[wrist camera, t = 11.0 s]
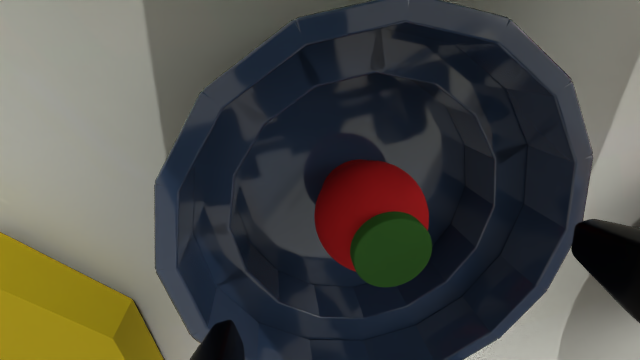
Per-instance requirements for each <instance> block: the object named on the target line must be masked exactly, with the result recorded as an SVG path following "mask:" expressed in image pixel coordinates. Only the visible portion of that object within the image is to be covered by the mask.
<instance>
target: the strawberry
mask: <svg viewBox="0 0 640 360" xmlns="http://www.w3.org/2000/svg"><path fill="white" fill-rule="evenodd" d="M314 218H315V227H316V231H317V234H318V237H319V240H320V242H321V244H322V246H323V247H324V248H325V250H326V251H327V253H328V254H329V255H330V256H331V257H332V258H333V259H334V260H335V261H336V262H338V263H339V264H341V265H342V266H344V267H346V268H348V269H350V270H352V271H355V272H357V274H358V275H359V277H360V278H361V279H362V280H364V281H365V282H367V283H369V284H371V285H373V286H377V287H394V286H398V285H401V284H404V283H406V282H408V281H410V280H412V279H413V278H415V277H416V276H417V275H418V274H419V273H420V272H421V271H422V270H423V269H424V268H425V266H426V265H427V263H428V261H429V259H430V257H431V253H432V240H431V237H430V234H429V232H428V226H429V211H428V206H427V202H426V199H425V196H424V194H423V192H422V190H421V188H420V187H419V185H418V184H417V183H416V181H415V180H414V179H413V178H412V177H411V176H410V175H409V174H407V173H406V172H405V171H403V170H402V169H400V168H398V167H397V166H395V165H392V164H389V163H386V162H382V161H373V160H361V159H360V160H351V161H348V162H345V163H343V164H341V165H339V166H338V167H336V168H335V169H334V170H333V171H332V172H331V173H330V174H329V175H328V176H327V178H326V180H325V181H324V184H323V186H322V189H321V191H320V193H319V195H318V198H317V201H316V205H315V213H314Z"/></svg>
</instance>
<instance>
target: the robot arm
mask: <svg viewBox="0 0 640 360" xmlns="http://www.w3.org/2000/svg"><path fill="white" fill-rule="evenodd" d="M572 253H573V255H574V257H575V258H576V259H577V260H578V261H579V262H580V263H581V264H582V265H583V266H584V268H585V269H586V270H587V271H588V272H589V273H590V274H591V275H592V276H593V277H594V278H595V279H596V280H597V281H598V282H599V283H600V284H601V285H602V287H603V288H604V289H605V290H606V291H607V292H608V293H609V294H610V295H611V296H612V297H613V298H614V299H615V300H616V301H617V302H618V303H619V304H620V305H621V306H622V307H623V308H624V309H625V310H626V311H627V312H628V313H629V314H630V315H631V316H632V317H633V318H634V319H636V320H637V321H638V322H639V323H640V228H636V227H631V226H626V225H622V224H617V223H612V222H607V221H603V220H598V219H590V220H586V221H583V222H579V223H577V224H576V226H575V228H574V234H573V241H572ZM190 360H245V352H244V345H243V342H242V339H241V337H240V335H239V333H238V330H237V328H236V326H235V324H234V322H233V321H232V320H225V321H222V322H218V323H216V324H214V325H213V326H212V328H211V329H210V331H209V332H208V334H207V335H206V337H205V338H204V339H203V341H202V342H201V344H200V345H199V347H198V348H197V350H196V351H195V353H194V354H193V355H192V357H191V358H190Z"/></svg>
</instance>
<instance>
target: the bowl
mask: <svg viewBox="0 0 640 360" xmlns="http://www.w3.org/2000/svg"><path fill="white" fill-rule="evenodd" d="M592 154H593V151H592V148H591V144H590V141H589V137H588V134H587V130H586V127H585V123H584V120H583V116H582V113H581V109H580V106H579V102H578V99H577V95H576V91H575V88H574V84H573V82H572V81H571V78H570V77H569V76H568V75H567V74H566V73H565V72H564V71H563V70H562V69H561V68H560V67H559V66H558V65H557V64H556V63H555V62H554V61H553V60H552V59H551V58H550V57H549V56H548V55H547V54H546V53H545V52H544V51H543V50H542V49H541V48H540V47H539V46H538V45H537V44H536V43H535V42H533V41H532V40H531V39H530V38H529V37H528V36H527V35H526V34H525V33H524V32H523V31H522V30H521V29H520V28H519V27H518V26H517V25H516V24H515V23H514V22H513V21H512V20H511V19H509V18H508V17H504V16H500V15H497V14H493V13H489V12H485V11H481V10H477V9H473V8H469V7H465V6H462V5H458V4H454V3H450V2H446V1H442V0H372V1H367V2H363V3H359V4H354V5H350V6H345V7H341V8H337V9H332V10H328V11H323V12H319V13H314V14H310V15H306V16H301V17H297V18H296V19H295V20H291V21H290V22H289V23H287V24H286V25H285V26H283V27H282V28H281V29H280V30H278V31H277V32H276V33H274V34H273V35H272V36H271V37H269V38H268V39H267V40H265V41H264V42H263V43H262V44H260V45H259V46H258V47H256V48H255V49H254V50H253V51H251V52H250V53H249V54H247V55H246V56H245V57H243V58H242V59H241V60H240V61H238V62H237V63H236V64H234V65H233V66H232V67H231V68H229V69H228V70H227V71H225V72H224V73H223V74H222V75H220V76H219V77H218V78H216V79H215V80H214V81H212V82H211V83H210V84H209V85H207V86H206V87H205V88H204V89H203V91H201V92H200V93H199V95H198V97H197V99H196V101H195V103H194V105H193V107H192V109H191V111H190V113H189V115H188V117H187V119H186V121H185V123H184V125H183V127H182V129H181V131H180V133H179V135H178V137H177V139H176V141H175V143H174V145H173V147H172V149H171V151H170V153H169V155H168V157H167V159H166V161H165V163H164V165H163V166H162V168H161V170H160V172H159V174H158V176H157V178H156V180H155V185H154V215H155V269H156V273H157V275H158V277H159V279H160V280H161V282H162V284H163V286H164V288H165V290H166V291H167V293H168V295H169V297H170V299H171V301H172V303H173V304H174V306H175V308H176V310H177V312H178V314H179V315H180V317H181V319H182V321H183V323H184V325H185V327H186V328H187V330H188V332H189V334H190V335H191V336H192V337H193V338H194V339H195V340H197V341H198V342H199V343H201V342H202V341H203V339H204V338H205V337H206V335H207V334H208V332H209V331H210V329H211V328H212V326H213V325H214V324H216V323H218V322H222V321H225V320H232V321H233V322H234V324H235V326H236V328H237V330H238V333H239V335H240V337H241V339H242V342H243V345H244V352H245V360H464V359H465V358H467V357H469V356H470V355H472V354H474V353H475V352H477V351H479V350H480V349H482V348H484V347H486V346H487V345H489V344H491V343H492V342H494V341H496V340H497V338H498V339H499V338H500V337H501V336H502V335H503V334H504V333H505V332H506V331H507V330H508V329H509V328H510V327H511V326H512V325H513V324H514V323H515V322H516V321H517V320H518V319H519V318H520V317H521V316H522V315H523V314H524V313H525V312H526V311H527V310H528V309H529V308H530V307H531V306H532V305H533V304H534V303H535V302H536V301H537V300H538V299H539V298H540V297H541V296H542V295H543V294H544V293H545V292H546V291H547V289H548V288H549V286H550V284H551V283H552V281H553V279H554V277H555V275H556V273H557V272H558V270H559V268H560V266H561V264H562V263H563V261H564V259H565V257H566V255H567V253H568V252H569V250H570V248H571V246H572V241H573V234H574V228H575V226H576V224H577V223H579V222H583V217H584V211H585V205H586V198H587V192H588V186H589V180H590V173H591V167H592V161H593V155H592ZM360 159H361V160H373V161H382V162H386V163H389V164H392V165H395V166H397V167H398V168H400V169H402V170H403V171H405V172H406V173H407V174H409V175H410V176H411V177H412V178H413V179H414V180H415V181H416V183H417V184H418V185H419V187H420V188H421V190H422V192H423V194H424V196H425V199H426V202H427V206H428V211H429V226H428V232H429V234H430V237H431V240H432V253H431V257H430V259H429V261H428V263H427V265H426V266H425V268H424V269H423V270H422V271H421V272H420V273H419V274H418V275H417V276H416V277H415V278H413V279H412V280H410V281H408V282H406V283H404V284H401V285H398V286H394V287H377V286H373V285H371V284H369V283H367V282H365V281H364V280H362V279H361V278H360V277H359V275H358V274H357V272H355V271H352V270H350V269H348V268H346V267H344V266H342V265H341V264H339V263H338V262H336V261H335V260H334V259H333V258H332V257H331V256H330V255H329V254H328V253H327V251H326V250H325V248H324V247H323V246H322V244H321V242H320V240H319V237H318V234H317V231H316V227H315V218H314V213H315V205H316V201H317V198H318V195H319V193H320V191H321V189H322V186H323V184H324V181H325V180H326V178H327V176H328V175H329V174H330V173H331V172H332V171H333V170H334V169H335V168H336V167H338V166H339V165H341V164H343V163H345V162H348V161H351V160H360Z"/></svg>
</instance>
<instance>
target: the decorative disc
mask: <svg viewBox="0 0 640 360" xmlns="http://www.w3.org/2000/svg"><path fill="white" fill-rule="evenodd" d="M0 360H164V359H163V357H162V355H161V353H160V352H159V350H158V348H157V346H156V344H155V342H154V340H153V338H152V336H151V334H150V332H149V330H148V328H147V326H146V325H145V323H144V321H143V319H142V317H141V315H140V313H139V311H138V309H137V307H136V305H135V303H134V301H133V299H131V298H129V297H127V296H125V295H123V294H121V293H119V292H117V291H115V290H113V289H111V288H109V287H107V286H105V285H103V284H101V283H99V282H97V281H95V280H94V279H92V278H90V277H88V276H86V275H84V274H82V273H80V272H78V271H76V270H74V269H72V268H70V267H68V266H66V265H64V264H62V263H60V262H58V261H56V260H54V259H52V258H50V257H48V256H46V255H44V254H42V253H40V252H38V251H36V250H34V249H32V248H31V247H29V246H27V245H25V244H23V243H21V242H19V241H17V240H15V239H13V238H11V237H9V236H7V235H5V234H3V233H1V232H0Z"/></svg>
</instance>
